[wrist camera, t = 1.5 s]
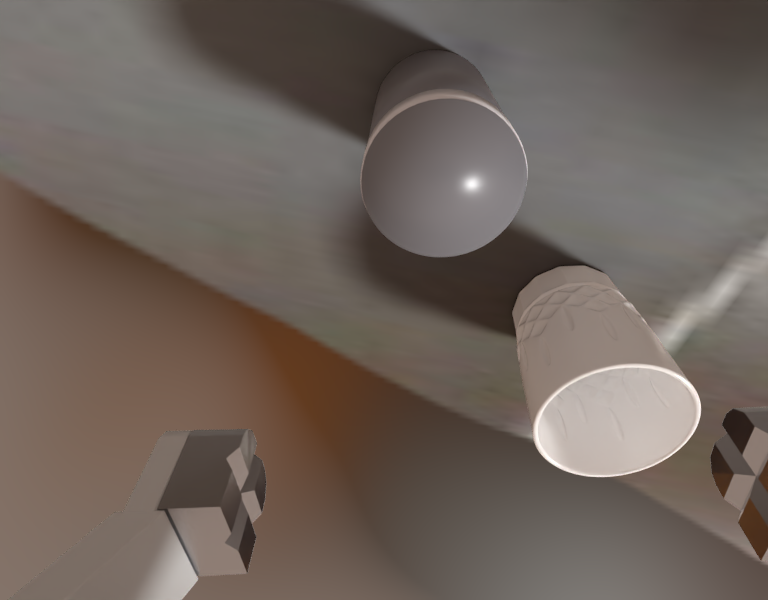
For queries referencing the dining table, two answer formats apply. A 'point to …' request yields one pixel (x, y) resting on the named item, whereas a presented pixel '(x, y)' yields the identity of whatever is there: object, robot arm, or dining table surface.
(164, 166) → the dining table surface
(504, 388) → the dining table surface
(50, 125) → the dining table surface
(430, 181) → the lens
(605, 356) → the white cup
